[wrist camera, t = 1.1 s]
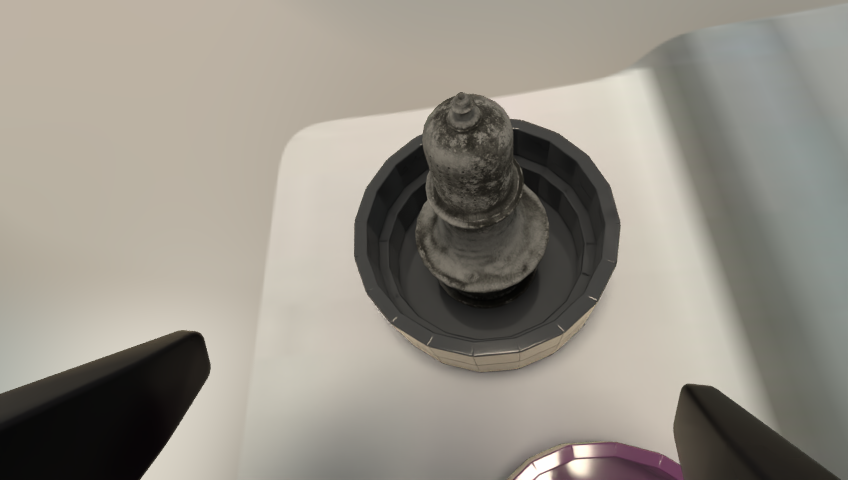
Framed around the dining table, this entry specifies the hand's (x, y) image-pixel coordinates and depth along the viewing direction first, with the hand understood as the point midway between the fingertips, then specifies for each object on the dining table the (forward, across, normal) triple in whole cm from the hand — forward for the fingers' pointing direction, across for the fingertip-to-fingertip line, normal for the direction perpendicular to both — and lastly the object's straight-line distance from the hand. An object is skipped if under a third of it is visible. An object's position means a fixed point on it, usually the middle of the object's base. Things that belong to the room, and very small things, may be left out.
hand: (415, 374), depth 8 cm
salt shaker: (+14, 0, +4) cm, 15 cm away
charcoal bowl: (+15, 0, +4) cm, 15 cm away
